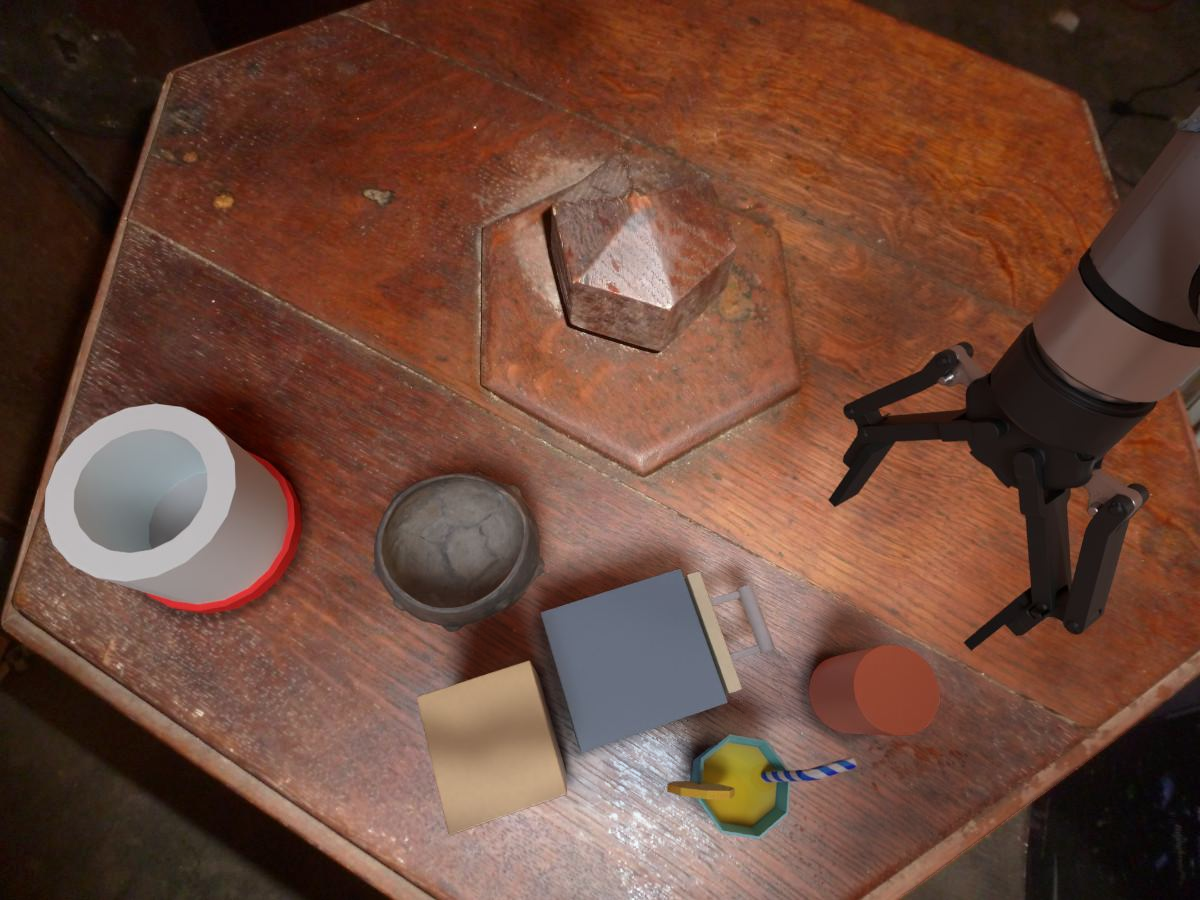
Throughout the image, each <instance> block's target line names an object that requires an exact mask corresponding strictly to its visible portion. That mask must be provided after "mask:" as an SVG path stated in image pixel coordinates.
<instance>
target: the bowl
mask: <svg viewBox="0 0 1200 900" xmlns="http://www.w3.org/2000/svg"><path fill="white" fill-rule="evenodd" d="M521 493H522V492H521V490H520V489H519V488H518V487H516V485H514V484H505V483H503V482H501V481H499V480H497V479H495V478H492V477H489V476H486V475H483V474H482V473H481V472H479V471H478V472H473V471H472V472H451V473H444V474H439V475H435V476H432V477H428V478H424V479H422V480H419V481H417V482H415V483H413V484H411V485H409V486H408V487H406V488H404V489H401V490H397V491H396V492H395V493H394V494H393V495H392V496H391V500H390V503H389V504H388V506H387V507H386V510H385V512H384V513H383V514H382V517H381V519H380V521H379V523H378V526H377V528H376V533H375V538H374V544H373V545H374V546H373V564H372V566H371V571H372V572H371V575H372V577H373V578H375V579H378V580H380V583H381V584H382V586H383V588H384V589H385V591H386V592H387V593H388V595H389V596H390V597H391V599H392V602H393V603H392V604H393V605H394V606H395V607H396V608H397V609H399V610H400V611H403V612H407V613H408V614H409V615H411V616H412V617H414V618H415V619H417V620H419V621H421V622H424V623H428V624H429V623H430V624H434V625H438V626H440V627H442V628H444V630H446V631H447V632H448V633H458V632H460V630H462V629H463V627H466V626H468V625H473V624H477V623H480V622H482V621H485V620H487V619H489V618H492V617H494V616H495V615H497V614H500V613H501V612H503V611H506V610H508V609H509V608H510V607H511V606H513V605H514V604H516V603H517V602H518V601H519V600H520V599H521V598H522V597H523V596H524V595H525V594H526V593H527V591H528V589H530V587H531V586H532V584H533V583H534V581H536V580H537V579H538V578H539V577H540V576H542V575H543V574H544V573H545V567H546V563H545V561H544V559H543V558H542V556H541V533H540V529H539V525H538V522H537V519H536V516H535V515H534V513H533V511H532V509H531V508H530V506H529V505H528V503H527V501H526V500H525V499H524V497H523V495H522V494H521Z"/></svg>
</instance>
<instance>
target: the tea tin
mask: <svg viewBox="0 0 1200 900" xmlns="http://www.w3.org/2000/svg"><path fill="white" fill-rule="evenodd" d="M808 696H809V697H808V698H809V702H810V705H811V707H812V710H813V711H814V713H815V715H816V717H817V718H818V719H819V720H820V721H821V722H822V723H823V724H824V725H825V726H827V727H828V728H829V729H831V730H834V731H836V732H839V733H841V734H852V735H853V734H854V735H874V736H875V735H876V736H895V737H906V736H911V735H915V734H918V733H920V732H921V731H923V730H924V729H926V728H927V727H928V726H929V725H931V723H932V722H933V720H934V718H935V717H936V715H937V713H938V709H939V706H940V700H941V699H940V697H941V695H940V686H939V682H938V679H937V676H936V674H935V672H934V670H933V668H932V667H931V666H930V664H929V663H928V661H926V659H924V658H923V656H921V655H920V654H919V653H917V652H916V651H914V650H912V649H911V648H908V647H906V646H903V645H899V644H882V645H877V646H873V647H871V648H870V647H869V648H865V649H861V650H857V651H853V652H848V653H844V654H840V655H839V654H838V655H835V656H832V657H829V658H827V659H825V660H823V661H822V662H820V663H819V664H818V665H817V666H816V668H815V669H814V670H813V672H812V675H811V677H810V679H809V685H808Z"/></svg>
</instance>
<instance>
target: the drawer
mask: <svg viewBox="0 0 1200 900" xmlns="http://www.w3.org/2000/svg"><path fill="white" fill-rule="evenodd" d="M684 579H685V582H686V585H687V588H688V591H689V594H690V596H691V599H692V602H693V605H694V608H695V611H696V613H697V616H698V619H699V622H700V625H701V627H702V630H703V633H704V636H705V639H706V642H707V644H708V647H709V650H710V653H711V656H712V659H713V661H714V664H715V667H716V670H717V673H718V676H719V678H720V681H721V684H722V687H723V690H724V693H725V695H728V694H729V695H730V694H732V693H736V692H739V691H740V690H743V687H742V684H741V681H740V678H739V676H738V673H737V670H736V668H735V664H734V661H737V660H739V659H742V658H746V657H749V656H751V655H754V654H758V653H760V654H764V653H768V652H771V651H774V650H775V649H776V646H775V644H774V643H775V642H774V640H773V638H772V635H771V632H770V631H769V628H768V624H767V622H766V619H765V617H764V613H763V612H762V609H761V606H760V604H759V601H758V599H757V596H756V593H755V591H754V588H753V586H752V585H753V584H752V583H748V584H745V585H743V586H739V587H738V588H736V590H735V591H732V592H729V593H726V594H722V595H720V596H717V597H714V598H711V599H710V595H709V592H708V591H707V587H706V585H705V581H704V578H703V577H702V574H701V571H700V570H697V571H695V572H691V573H688V574H687V575H685V577H684ZM737 599H739V600H740V602H741V605H742V608H743V610H744V613H745V616H746V619H747V621H748V624H749V626H750V629H751V632H752V635H753V637H754V640H755V643H756V645H753V646H750V647H746V648H744V649H741V650H738V651H735V652H731V653H730V651H729V647H728V646H727V643H726V639H725V637H724V635H723V632H722V629H721V626H720V623H719V621H718V617H717V615H716V613H715V610H714V607H715V606H718V605H720V604H724V603H727V602H731V601H733V600H737Z"/></svg>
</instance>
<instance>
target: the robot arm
mask: <svg viewBox="0 0 1200 900" xmlns="http://www.w3.org/2000/svg"><path fill="white" fill-rule="evenodd" d="M1176 130H1177V131H1176V132H1175V134H1174V135H1173V137H1172V138H1171V139H1170V141H1169V142H1168V143H1167V144H1166V146H1165V147H1164V149H1162V151H1161V152H1160V154H1159V155H1158V156H1157V157H1156V159H1155V160H1154V161H1153V163H1152V164H1151V165H1150V167H1149V168H1148V169H1147V171H1146V172H1145V173H1144V175H1143V176H1142V177H1141V178H1140V180H1139V181H1138V183H1136V184H1135V186H1134V188H1133V189H1132V190H1131V192H1130V193H1129V194H1128V195H1127V196H1126V198H1125V199H1124V201H1123V202H1122V203H1121V205H1120V206H1119V207H1118V208H1117V209H1116V211H1115V212H1114V214H1113V215H1112V216H1111V218H1110V219H1109V220H1108V221H1107V223H1106V224H1105V225H1104V227H1103V228H1102V229H1101V230H1100V232H1099V233H1098V234H1097V235H1096V236H1095V238H1094V240H1093V241H1092V242H1091V243H1090V245H1089V247H1088V248H1087V250H1085V252H1084V253H1083V254H1082V255H1081V256H1080V257H1079V259H1078V260H1077V261H1076V263H1075V264H1074V265H1073V267H1071V269H1070V270H1069V271H1068V272H1067V274H1065V276H1064V278H1063V279H1062V280H1061V281H1060V282H1059V284H1058V285H1057V286H1056V287H1055V288H1054V289H1053V291H1052V292H1051V293H1050V295H1049V296H1048V297H1047V299H1046V300H1045V301H1044V302H1043V303H1042V305H1040V307H1039V308H1038V310H1037V311H1036V313H1035V314H1034V316H1033V319H1032V322H1030V323H1028V324H1027V325H1026V326H1024V328H1023V329H1022V330H1021V332H1020V333H1019V334H1018V335H1017V337H1016V338H1015V340H1013V342H1012V343H1011V344H1010V346H1009V347H1008V348H1007V349H1006V351H1005V352H1004V353H1003V354H1002V356H1000V359H999V360H998V361H997V362H996V363H995V365H994V366H993V367H992V369H991V370H990V372H987V373H986V371H984V370H983V369H982V368H981V367H980V366H979V364H977V363H976V362H975V361H974V360H973V359H972V358H973V356H974V355H975V354H974V353H975V351H974V350H975V349H974V347H973V345H972V344H971V343H969V342H968V341H960V342H958V343H956V344H953V345H952V346H950V347H947V348H945V349H943V350H941V351H938V352H937V353H935V354H934V355H933V356H932V358H930V360H928V362H927V363H926V364H925V365H924V366H923V367H922V369H920V370H918V371H916V372H914V373H911V374H910V375H908V376H905V377H903V378H901V379H898V380H896V381H894V382H891V383H889V384H887V385H885V386H883V387H881V388H878V389H876V390H874V391H871V392H869V393H866V394H865V395H863V396H861V397H859V398H856V399H854V400H852V401H850V402H848V403H846V404H845V405H843V408H842V412H843V415H844V416H845V418H846V419H848V420H850V421H853V422H854V424H855V425H856V428H857V432H856V437H855V438H854V439H853V441H852V442H851V444H850V445H849V447H848V448H847V450H846V452H845V453H844V454H843V456H842V463H843V464H844V465H845V466H846V467H847V468H848V470H847V471H846V473H845V475H844V476H843V477H842V479H841V480H840V482H839V484H838V485H837V486H836V487H835V489H834V491H833V492H832V493H831V495H830V497H829V498H828V500H827V501H828V502H829V503H830V504H831V505H832V506H833V508H836V507H838V506H839V505H842V504H844V503H845V502H847V501H848V500H850V499H852V498H854V497H856V496H857V495H859V493H860V492H861V491H862V490H863V488H864V487H865V485H866V483H868V481H869V480H870V478H871V477H872V475H873V474H874V473H875V471H876V470H877V469H878V467H879V466H880V464H881V463H882V462H883V460H884V459H885V457H886V456H887V455H888V453H890V451H891V450H892V448H893V447H894V445H895V444H896V443H899V442H918V441H919V442H920V441H939V440H940V441H941V442H942V443H950V442H951V443H953V442H967V444H968V448H970V451H969V455H970V456H972V457H973V458H974V459H975V460H976V461H977V462H978V463H980V464H982V465H984V466H985V467H986V468H989V470H991V472H992V473H993V474H994V476H995V478H996V479H997V480H998V481H999V482H1000V483H1001V484H1003V485H1004V487H1006V488H1007V489H1010V488H1014V489H1016V490H1017V491H1018V492H1017V493H1018V504H1019V505H1018V506H1019V513H1020V514H1021V515H1023V516H1024V518H1025V530H1026V532H1025V533H1026V543H1027V545H1026V546H1027V555H1028V556H1027V557H1028V569H1029V582H1030V587H1029V588H1027V589H1026V590H1025V591H1023V592H1022V593H1021V594H1020V595H1018V596H1017V597H1015V598H1014V599H1013V600H1012V601H1011V602H1009V603H1008V604H1007V605H1006V606H1005V607H1004V608H1002V609H1001V610H1000V611H998V612H997V613H996V614H995V615H993V617H991V618H990V619H989V620H988V621H987V622H986V623H984V624H983V625H982V626H980V627H979V628H978V629H977V630H976V631H975V632H973V633H972V634H971V635H970V636H969V637H968V638H967V639H965V640H964V641H962V643H963V644H964V645H965V646H966V647H967V649H969V651H970V652H973V650H974V649H976V648H977V647H979V646H980V645H981V644H983V643H984V642H985V641H986V640H987V639H988V638H990V637H991V636H992V635H994V634H995V633H996V632H998V631H999V630H1000V629H1002V628H1003V627H1004V626H1005V627H1006V628H1008V629H1009V631H1010V632H1012V634H1013V635H1014V636H1016V637H1020V636H1024V635H1026V634H1027V633H1028V632H1029V631H1031V630H1032V629H1033V628H1035V627H1036V626H1037V625H1039V624H1040V623H1041V622H1043V621H1045V620H1046V619H1048V618H1053V619H1057V620H1059V621H1060V622H1062V625H1063V628H1064V629H1065V630H1066V631H1067V632H1068V633H1069V634H1072V635H1074V636H1075V635H1076V636H1079V635H1081V634H1083V633H1084V632H1085V631H1086V630H1088V629H1089V628H1090V627H1092V625H1094V624H1095V623H1096V622H1097V620H1099V619H1100V618H1102V616H1103V615H1104V613H1105V610H1106V606H1107V603H1108V600H1109V596H1110V592H1111V589H1112V584H1113V581H1114V578H1115V575H1116V570H1117V567H1118V563H1119V560H1120V556H1121V552H1122V550H1123V546H1124V542H1125V538H1126V534H1127V532H1128V528H1129V524H1130V520H1132V518H1133V517H1134V516H1135V515H1136V514H1137V513H1138V511H1139V510H1140V509H1141V508H1142V507H1143V506H1144V505H1145V504H1146V503H1147V502H1148V500H1149V499H1150V492H1149V490H1148V488H1147V487H1146V486H1144V485H1143V484H1141V483H1136V482H1133V483H1130V484H1128V485H1127V486H1126V485H1125V484H1124V483H1122V482H1121V481H1119V480H1118V479H1116V478H1115V477H1113V476H1112V475H1111V474H1110V473H1107V471H1105V470H1103V469H1102V467H1103V462H1104V458H1105V457H1106V455H1107V454H1108V453H1109V452H1110V451H1111V450H1112V449H1113V448H1114V447H1116V445H1117V444H1119V442H1120V441H1122V439H1123V438H1125V437H1126V436H1127V435H1129V433H1130V432H1131V431H1132V430H1133V429H1134V428H1136V427H1137V426H1138V424H1140V423H1141V422H1142V421H1143V420H1144V419H1145V418H1146V417H1147V416H1148V415H1149V414H1151V412H1152V411H1153V410H1155V408H1156V406H1157V403H1158V401H1162V400H1163V399H1165V398H1166V397H1168V396H1169V395H1171V394H1172V393H1173V392H1174V391H1175V390H1176V389H1177V388H1178V387H1179V386H1180V385H1181V384H1183V383H1184V382H1185V381H1186V380H1187V379H1188V378H1189V377H1190V376H1191V375H1192V374H1193V373H1194V372H1195V371H1196V370H1197V369H1198V368H1200V105H1199V106H1197V108H1196V109H1195V110H1194V111H1193V112H1192V114H1190V116H1189V117H1188V118H1186V119H1182V121H1181V122H1180V123H1179V125H1178V126H1177V128H1176ZM937 384H938V385H939V386H945V387H948V388H952V387H954V386H956V385H963V386H965V388H966V390H965V408H961V409H951V410H941V411H929V412H918V413H917V412H916V413H904V414H903V413H902V414H893V415H891V412H887V413H886V414H884V415H882V413H881V411H880V410H881V409H883V408H885V407H888V406H890V405H892V404H895V403H898V402H900V401H902V400H905V399H907V398H909V397H911V396H915V395H917V394H920V393H923V392H924V391H925V390H928V389H930V388H932V387H934V386H936V385H937ZM1081 487H1083V488H1084V489H1085V490H1086V492H1087V493H1088V500H1087V508H1086V512H1087V514H1088V515H1089V516H1091V519H1090V520H1089V522H1088V524H1087V526H1086V527H1085V530H1084V534H1083V536H1082V541H1081V545H1080V548H1079V553H1078V556H1077V557H1078V558H1077V560H1076V565H1075V569H1074V574H1073V577H1072V562H1071V561H1072V560H1071V545H1070V529H1069V527H1070V526H1069V514H1068V503H1069V501H1070V499H1071V495H1072V489H1078V488H1081Z"/></svg>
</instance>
